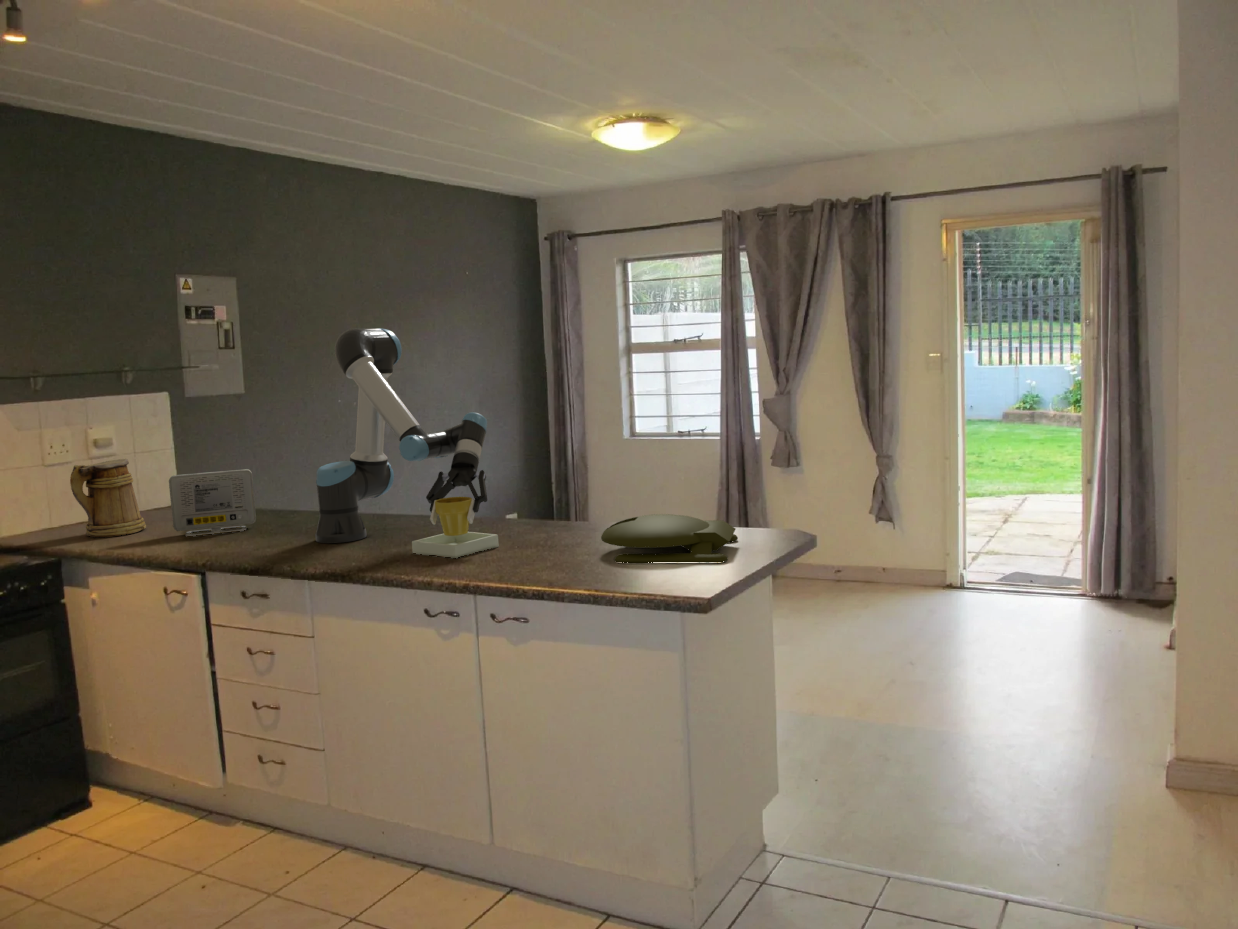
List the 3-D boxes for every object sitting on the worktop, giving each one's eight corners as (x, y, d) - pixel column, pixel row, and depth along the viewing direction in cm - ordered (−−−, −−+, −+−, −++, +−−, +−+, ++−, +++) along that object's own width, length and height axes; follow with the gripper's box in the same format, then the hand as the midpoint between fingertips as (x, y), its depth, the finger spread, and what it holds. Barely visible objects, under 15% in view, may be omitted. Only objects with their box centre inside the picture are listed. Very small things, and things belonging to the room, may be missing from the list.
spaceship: (738, 540, 275) (737, 505, 273) (727, 565, 245) (725, 526, 244) (615, 541, 282) (614, 507, 281) (589, 566, 252) (587, 528, 251)
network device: (256, 525, 340) (251, 468, 337) (257, 529, 331) (251, 470, 329) (175, 534, 331) (169, 474, 328) (173, 538, 323) (167, 477, 320)
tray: (412, 553, 278) (411, 541, 277) (456, 542, 291) (455, 530, 291) (455, 558, 268) (454, 546, 267) (498, 546, 281) (497, 534, 281)
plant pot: (467, 537, 273) (464, 501, 271) (431, 537, 275) (429, 502, 274) (479, 529, 283) (477, 496, 282) (445, 530, 285) (443, 497, 284)
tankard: (157, 528, 344) (150, 457, 342) (98, 542, 323) (89, 466, 320) (121, 527, 352) (113, 457, 349) (60, 540, 331) (51, 466, 328)
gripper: (507, 465, 289) (493, 528, 276) (433, 467, 294) (417, 529, 281) (500, 449, 284) (486, 512, 270) (425, 452, 288) (408, 514, 275)
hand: (451, 521), depth 275 cm, fingers closed on plant pot, 10 cm apart
